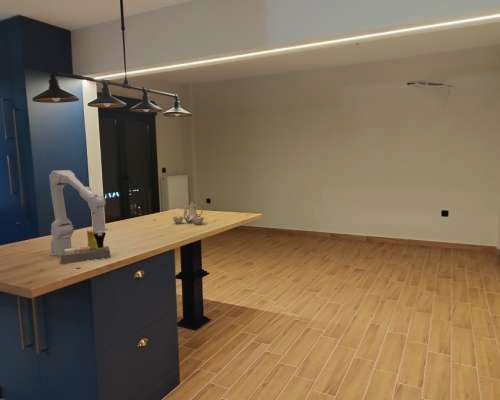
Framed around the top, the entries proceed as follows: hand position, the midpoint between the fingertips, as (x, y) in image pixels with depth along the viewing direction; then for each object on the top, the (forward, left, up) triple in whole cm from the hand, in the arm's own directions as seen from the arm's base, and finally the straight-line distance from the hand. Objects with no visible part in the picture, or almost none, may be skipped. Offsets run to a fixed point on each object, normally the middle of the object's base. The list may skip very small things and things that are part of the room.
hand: (100, 247), depth 191 cm
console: (-6, -4, -5) cm, 8 cm away
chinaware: (+12, +100, -5) cm, 101 cm away
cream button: (-12, -8, -2) cm, 14 cm away
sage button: (0, 0, -3) cm, 3 cm away
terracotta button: (-6, -4, -2) cm, 7 cm away
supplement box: (-12, +14, -5) cm, 19 cm away
